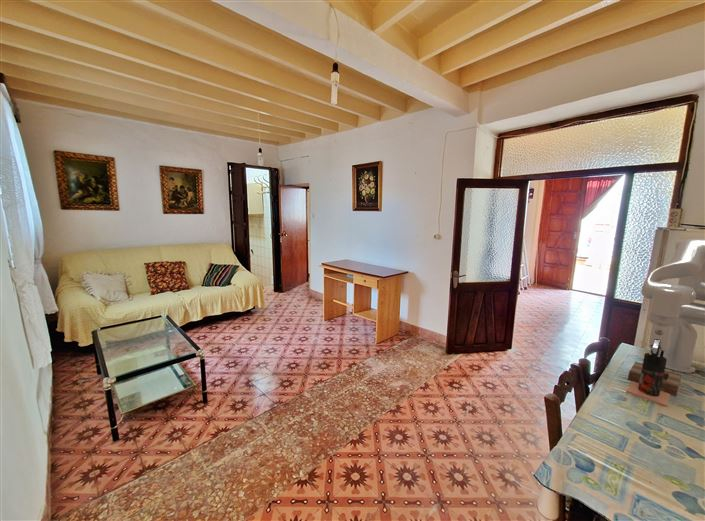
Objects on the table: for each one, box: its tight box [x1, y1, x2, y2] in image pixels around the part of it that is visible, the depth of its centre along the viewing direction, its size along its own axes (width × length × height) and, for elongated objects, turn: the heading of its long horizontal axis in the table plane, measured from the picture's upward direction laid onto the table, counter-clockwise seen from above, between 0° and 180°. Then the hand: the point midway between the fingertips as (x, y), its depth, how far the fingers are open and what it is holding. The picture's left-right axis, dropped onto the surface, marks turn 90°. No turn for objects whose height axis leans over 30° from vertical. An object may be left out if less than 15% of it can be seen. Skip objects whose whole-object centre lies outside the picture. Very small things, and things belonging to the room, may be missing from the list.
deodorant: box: [638, 352, 667, 397], centre depth 113 cm, size 6×6×15 cm
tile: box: [626, 381, 671, 408], centre depth 114 cm, size 11×11×1 cm
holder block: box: [627, 361, 682, 397], centre depth 122 cm, size 14×14×4 cm
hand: (654, 360), depth 112 cm, fingers open, 9 cm apart
